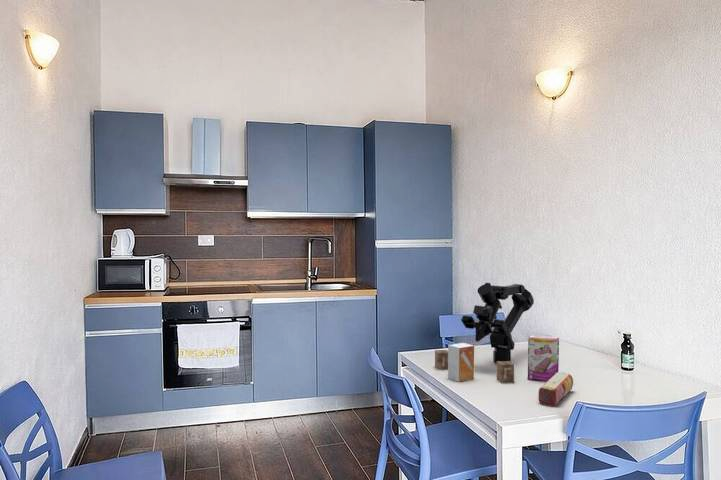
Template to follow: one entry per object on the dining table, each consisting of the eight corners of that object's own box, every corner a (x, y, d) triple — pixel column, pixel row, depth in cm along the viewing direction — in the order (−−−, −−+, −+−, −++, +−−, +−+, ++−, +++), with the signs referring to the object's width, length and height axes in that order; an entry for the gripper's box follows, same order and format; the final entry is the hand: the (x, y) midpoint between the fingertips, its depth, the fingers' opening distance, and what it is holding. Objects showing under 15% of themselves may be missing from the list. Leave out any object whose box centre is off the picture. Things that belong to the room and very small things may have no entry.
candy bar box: (527, 380, 202) (527, 337, 202) (527, 376, 207) (528, 334, 207) (558, 383, 199) (559, 339, 198) (558, 379, 203) (558, 336, 203)
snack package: (557, 408, 171) (557, 387, 171) (536, 404, 175) (536, 384, 175) (573, 392, 188) (573, 373, 188) (554, 388, 192) (554, 370, 192)
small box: (459, 382, 199) (459, 347, 199) (447, 378, 205) (447, 344, 204) (474, 379, 204) (474, 345, 203) (462, 375, 209) (462, 342, 209)
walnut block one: (446, 366, 222) (446, 349, 222) (449, 369, 217) (449, 352, 217) (434, 366, 222) (435, 350, 222) (437, 370, 217) (437, 353, 217)
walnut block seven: (509, 379, 204) (509, 361, 203) (514, 383, 198) (514, 364, 198) (496, 379, 203) (496, 361, 203) (501, 383, 198) (501, 364, 198)
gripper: (463, 296, 222) (448, 325, 214) (504, 300, 210) (490, 331, 202) (472, 312, 228) (459, 342, 220) (513, 317, 216) (500, 349, 208)
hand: (476, 340), depth 213 cm, fingers closed
